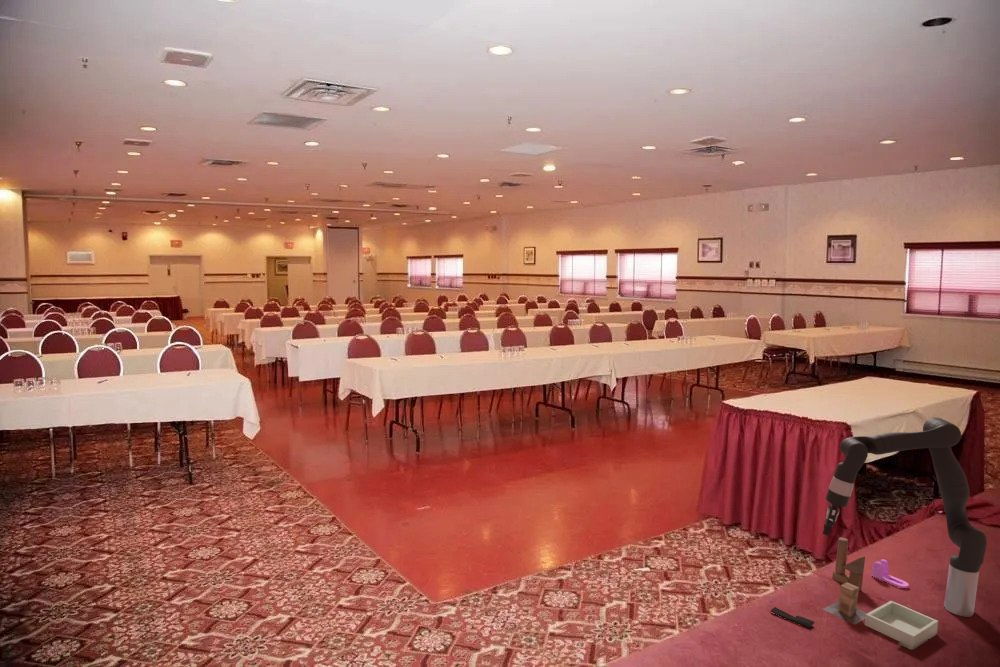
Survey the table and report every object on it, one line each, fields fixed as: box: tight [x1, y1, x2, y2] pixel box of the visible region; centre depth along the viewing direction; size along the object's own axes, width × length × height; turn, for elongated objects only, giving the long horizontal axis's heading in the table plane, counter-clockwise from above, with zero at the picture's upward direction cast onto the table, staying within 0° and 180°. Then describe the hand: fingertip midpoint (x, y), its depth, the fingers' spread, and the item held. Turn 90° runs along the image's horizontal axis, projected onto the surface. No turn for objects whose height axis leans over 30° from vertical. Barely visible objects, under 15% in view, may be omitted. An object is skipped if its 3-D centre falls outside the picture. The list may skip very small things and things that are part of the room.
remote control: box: [770, 607, 815, 630], centre depth 246 cm, size 5×2×15 cm
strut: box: [838, 583, 860, 616], centre depth 249 cm, size 4×4×10 cm
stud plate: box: [822, 600, 868, 625], centre depth 250 cm, size 12×12×5 cm
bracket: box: [870, 559, 910, 589], centre depth 276 cm, size 13×6×7 cm, turn 33°
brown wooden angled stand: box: [831, 536, 866, 592], centre depth 271 cm, size 4×11×18 cm, turn 26°
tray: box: [864, 600, 939, 651], centre depth 240 cm, size 18×16×5 cm
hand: (826, 531), depth 253 cm, fingers open, 8 cm apart
